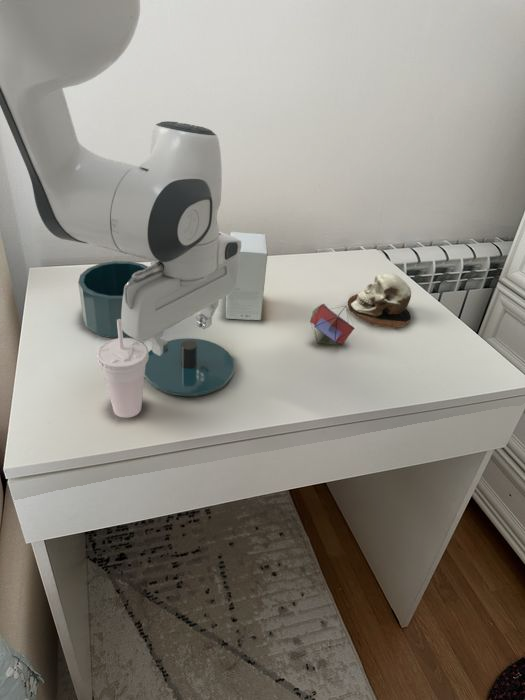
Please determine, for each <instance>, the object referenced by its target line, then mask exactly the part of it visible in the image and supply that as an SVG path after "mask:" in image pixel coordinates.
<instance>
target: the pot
mask: <svg viewBox="0 0 525 700" xmlns="http://www.w3.org/2000/svg"><path fill="white" fill-rule="evenodd" d="M147 267H149V266H148V265H146V264H144V263H140V262H135V261H131V260H130V261H127V260H125V261H123V260H120V261H119V260H113V261H108V262H100V263H98V264H96V265H93V266H91V267H88V268H87V269H86V270H84V271H83V272H82V273H80V275H79V278H78V284H77V285H78V291H79V299H80V305H81V314H82V320H83V322H84V325H85V327H86V328H87V329H88V330H89V331H90V332H92V333H93V334H95V335H98V336H101V337H105V338H110V339H118V327H117V320H118V319H121V311H122V300H123V294H124V286H125V285H126V284H127V283H128V281H129V280H130V279H131V278H132V275H133V274H134V273H135V272H137V271H140V270H141V271H142V270H144V269H146V268H147ZM122 332H123V338H131V337H130V336H129V335H127V334H126V333H125V332H124V331H123V330H122Z"/></svg>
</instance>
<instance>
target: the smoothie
mask: <svg viewBox="0 0 525 700" xmlns="http://www.w3.org/2000/svg"><path fill="white" fill-rule="evenodd" d="M117 327H118V338H112V339H110V340H107V341H106V342H104V343H103V344H101V345H100V346H99V347H98V349H97V351H96V360H97V364H98V365H99V367H101V370H102V374H103V377H104V381H105V385H106V388H107V391H108V395H109V399H110V402H111V406H112V410H113V413H114V414H115V415H116V416H117V417H119V418H122V419H128V418H133V417H136V416H137V415H138V414H140V413H141V411H142V405H143V393H144V387H145V386H144V384H145V366H146V363H147V361H148V358H149V355H148V352H149V348H148V346H147V345H146V344H145V342H140V341H138V340H136V339H134V338H132V337H129V338H123V332H122V320H121V319H118V320H117Z"/></svg>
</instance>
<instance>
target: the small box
mask: <svg viewBox="0 0 525 700" xmlns="http://www.w3.org/2000/svg"><path fill="white" fill-rule="evenodd" d="M229 235H230V236H232V237H235V238H237V239H239V240H240V241H241V251H240V253H239V254H238V256H239V274H238V282H237V286H236V288H235V289H234V291H233V293H231V294H229V295H227V296H226V297H225V319H227V320H229V319H230V320H243V321H245V320H247V321H261V320H262V315H263V303H264V294H265V293H264V292H265V283H266V274H267V273H266V272H267V261H268V253H269V252H268V244H267V234H265V233H264V234H263V233H253V232H251V233H250V232H239V231H238V232H237V231H230V234H229Z"/></svg>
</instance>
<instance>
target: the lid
mask: <svg viewBox="0 0 525 700" xmlns="http://www.w3.org/2000/svg"><path fill="white" fill-rule="evenodd" d="M166 341H167V340H166ZM167 342H168V347H167V348H168V351H167V352H165V353H164V354H162V355H161V356H158V355H157V354H155V353H153V351H152V349H150V350H148V355H149V358H148V361H147V363H146V366H145V376H144V379H145V380H146V381H147V382H148V383H149V384H150V385H151V386H152V387H154V388H156V389H157V390H159V391H160V392H164V393H166V394H170V395H174V396H181V397H196V396H202V395H206V394H207V395H208V394H211V393H213V392H216V391H217V390H220V389H221V388H223V387H224V386H226V384H227V383H228V382H229V381H230V380H231V378H232V376H233V375H234V369H235V363H234V359H233V357H232V356H231V354H230V353H229V351H227V350H226V349H225V348H224V347H222V346H221V345H219V344H217V343H215V342H212V341H211V340H210V341H209V340H206V339H200V338H194V337H191V338H190V337H185V338H176V339H171V340H168V341H167Z"/></svg>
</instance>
